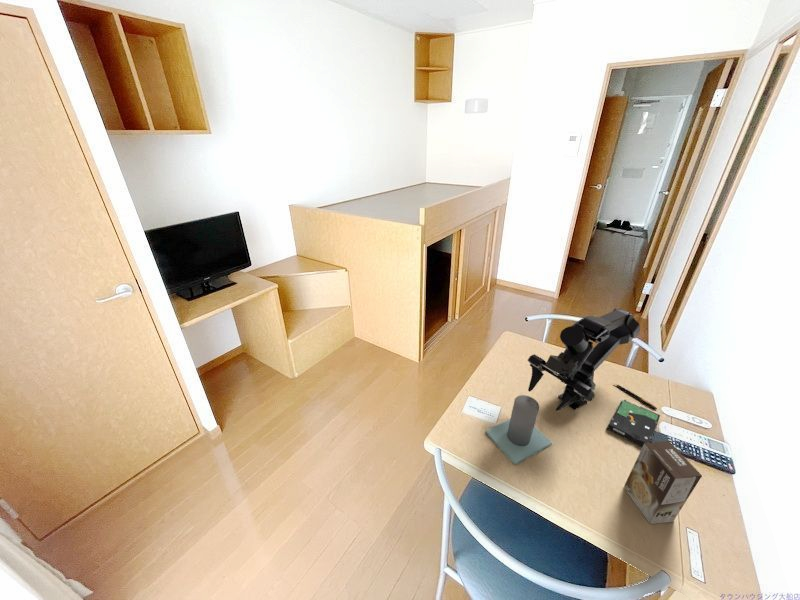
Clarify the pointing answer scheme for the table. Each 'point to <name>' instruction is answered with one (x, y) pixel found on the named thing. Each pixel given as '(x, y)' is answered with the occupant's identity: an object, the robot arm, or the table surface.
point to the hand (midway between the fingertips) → (542, 400)
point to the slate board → (515, 451)
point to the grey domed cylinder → (522, 420)
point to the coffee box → (661, 481)
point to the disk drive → (634, 423)
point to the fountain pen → (637, 397)
